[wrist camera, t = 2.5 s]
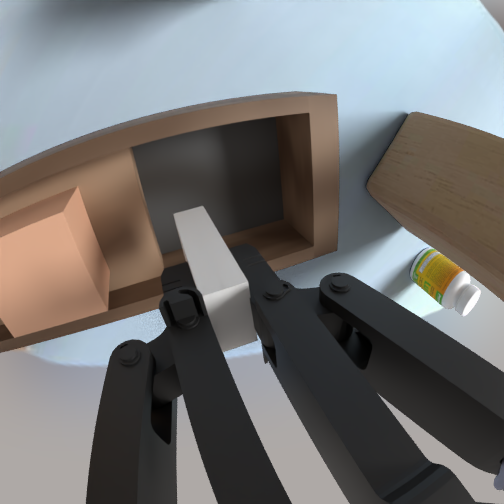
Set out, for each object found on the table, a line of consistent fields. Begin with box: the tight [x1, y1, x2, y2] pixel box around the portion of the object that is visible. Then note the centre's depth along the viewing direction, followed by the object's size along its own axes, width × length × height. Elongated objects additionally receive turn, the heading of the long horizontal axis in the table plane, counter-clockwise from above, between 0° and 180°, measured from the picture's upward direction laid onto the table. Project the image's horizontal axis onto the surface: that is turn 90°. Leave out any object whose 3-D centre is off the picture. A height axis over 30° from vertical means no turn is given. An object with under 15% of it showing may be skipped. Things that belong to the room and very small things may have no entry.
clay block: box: [0, 186, 110, 338], centre depth 14 cm, size 6×7×4 cm
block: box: [366, 112, 504, 301], centre depth 19 cm, size 10×10×20 cm
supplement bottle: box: [410, 248, 481, 316], centre depth 32 cm, size 5×5×10 cm
